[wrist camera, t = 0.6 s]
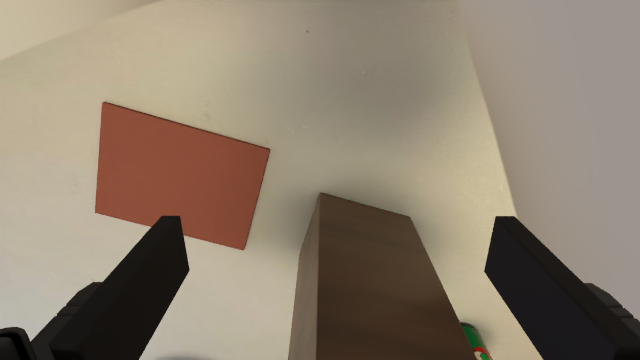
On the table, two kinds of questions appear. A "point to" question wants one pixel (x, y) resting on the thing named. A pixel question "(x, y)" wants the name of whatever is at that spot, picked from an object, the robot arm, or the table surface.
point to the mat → (177, 176)
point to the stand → (370, 291)
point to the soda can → (476, 343)
